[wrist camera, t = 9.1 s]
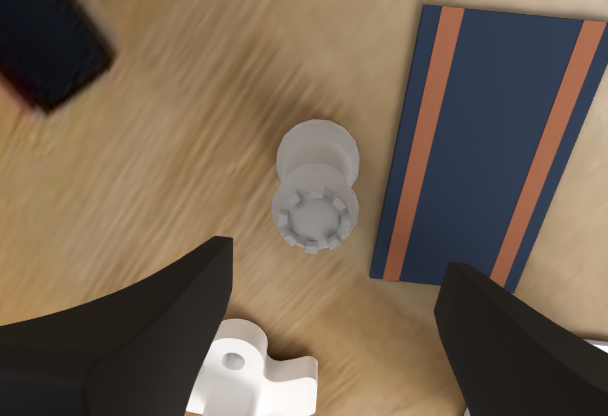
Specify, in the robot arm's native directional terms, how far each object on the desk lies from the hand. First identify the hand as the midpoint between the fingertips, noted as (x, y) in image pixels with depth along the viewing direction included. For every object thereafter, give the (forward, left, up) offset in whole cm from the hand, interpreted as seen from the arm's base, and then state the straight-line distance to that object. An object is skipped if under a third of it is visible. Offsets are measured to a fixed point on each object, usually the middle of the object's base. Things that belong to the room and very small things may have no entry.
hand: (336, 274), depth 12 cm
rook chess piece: (+1, +1, -9) cm, 9 cm away
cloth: (+2, -8, -9) cm, 12 cm away
